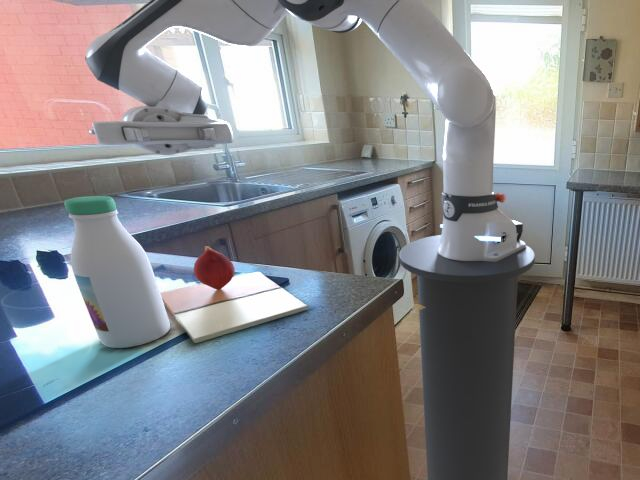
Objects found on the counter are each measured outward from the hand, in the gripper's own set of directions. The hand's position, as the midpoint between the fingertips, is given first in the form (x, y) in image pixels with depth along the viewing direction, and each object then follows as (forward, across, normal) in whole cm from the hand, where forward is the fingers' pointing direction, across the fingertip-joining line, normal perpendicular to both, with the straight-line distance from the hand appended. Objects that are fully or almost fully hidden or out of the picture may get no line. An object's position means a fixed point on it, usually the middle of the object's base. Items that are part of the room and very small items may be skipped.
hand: (178, 134), depth 72 cm
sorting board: (+17, -2, +26) cm, 32 cm away
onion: (+11, -2, +26) cm, 28 cm away
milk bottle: (+20, -15, +27) cm, 37 cm away
